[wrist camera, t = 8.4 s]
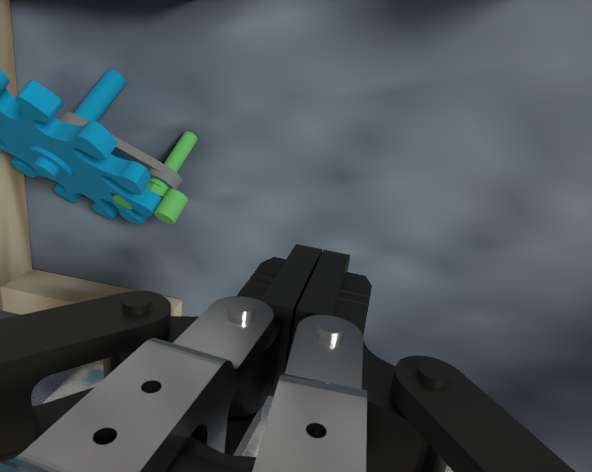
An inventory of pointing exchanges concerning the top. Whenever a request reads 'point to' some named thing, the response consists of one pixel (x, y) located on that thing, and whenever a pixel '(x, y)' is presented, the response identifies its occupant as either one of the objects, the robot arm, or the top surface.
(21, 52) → the top surface
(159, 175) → the gear
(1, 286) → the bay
